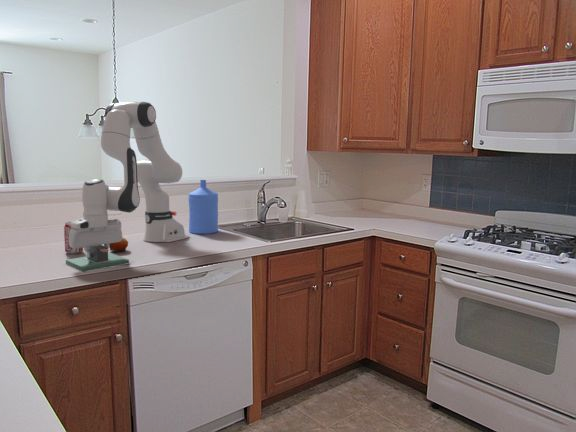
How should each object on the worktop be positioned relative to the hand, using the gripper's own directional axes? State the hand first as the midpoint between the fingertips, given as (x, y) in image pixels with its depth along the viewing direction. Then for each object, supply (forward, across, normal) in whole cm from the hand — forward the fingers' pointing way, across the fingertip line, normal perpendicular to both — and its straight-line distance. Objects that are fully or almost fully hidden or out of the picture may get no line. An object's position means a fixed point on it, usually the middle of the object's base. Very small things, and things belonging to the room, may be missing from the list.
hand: (97, 256), depth 183 cm
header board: (+3, 0, 0) cm, 3 cm away
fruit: (+3, -16, -14) cm, 21 cm away
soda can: (+3, -1, -24) cm, 24 cm away
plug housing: (+2, 0, +2) cm, 2 cm away
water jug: (+3, -71, -26) cm, 76 cm away
